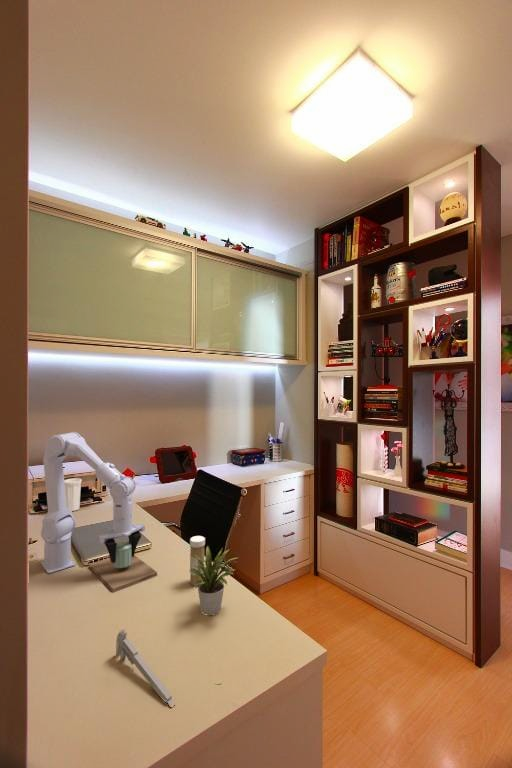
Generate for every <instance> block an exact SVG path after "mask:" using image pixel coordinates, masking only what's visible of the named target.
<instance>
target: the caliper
mask: <svg viewBox="0 0 512 768" xmlns="http://www.w3.org/2000/svg"><path fill="white" fill-rule="evenodd" d="M127 635H128V633H127V632H125V628H123V629H120V630H119V633H117V636H116V643H115V646H116V647H115V655H116V656H117V657H118V656H120V658H119V659H120V660H121V661H123V660H124V659H126V658H127V660H128V661H129V663H130V664H131V665H134V666H136V668H137V669H138V670H139V672H140V673H141V675H142V676H143V677H144V678H145V679H146V681H147V682H148V683H149V685H150V686H151V687H152V689H153V690H154V691H155V693H156V694H157V693H158V694H159V695H160V696H161V697H162V698H163V699H164V700H165V701H166V702H167V703H168V704H169V705H170V706H171V705H172V704H173V702H175V701H174V699H173V698H172V697H173V695H172V694H171V693H170V692H169V690H168V689H167V688H166V687H165V685H164V684H163V683H162V682H161V680H160V679H159V678H158V677H157V675H156V674H155V673H154V671H153V670H152V669H151V668H150V667H149V665H148V664H147V663H146V662H145V660H144V659H143V658H142V657H141V655H140V654H139V651H138V650H137V648H136V647H135V645H134V644H133V642H131V641H130V639H129V638H128V637H127ZM158 694H157V695H158ZM159 695H158V696H159ZM168 704H167V705H168Z"/></svg>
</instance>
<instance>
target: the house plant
mask: <svg viewBox="0 0 512 768" xmlns="http://www.w3.org/2000/svg"><path fill="white" fill-rule="evenodd" d="M229 551H230V548H229V549H227V550H225V551H224V552H223V548H221V549H220V550H219V552H218V553H217V555H216V557H215V558H214V560H213V559H212V552H211V549H210V546H209V545H207V546H206V549H205V558H204V559H203V560H204V564H203V562H202V561H201V558H199V557H198V556H197V555H195V554H194V555H195V557H196V558H197V560H198V562H199V563H200V564H199V563H198V562H197V563H198V564H199V565H200V566H198V567H197V566H196V565H195V564H193V563H192V564H193V565H195V567H197V568H198V569H199V567H200V568H201V570H202V571H203V573H204V575H202V574H203V573H202V571H201V570H200V569H199V570H200V571H201V573H202V574H201V573H200V572H199V571H197V570H196V569H191V570H190V569H189V573H190V572H192V573H194V574H197V575H198V576H200V577H201V579H202V580H203V581H202V580H198V581H197V586H196V588H197V593H198V598H199V604H200V605H199V606H200V611H202V612H203V613H204V614H207V615H212V616H214V615H213V614H216V613H218V612H219V611H220V612H221V609H222V608H221V607H222V602H223V596H224V589H225V585H226V586H228V582H227V579H226V578H224V577H227V576H231V575H234V573H233V572H234V571H237V569H231V568H229V567H226V566H227V565H229V564H233V563H235V561H234V560H236V559H238V557H234V558H229V559H227V560H226V561H225V562H223V561H224V560H225V557H226V554H227V553H228V552H229ZM195 562H196V561H195ZM222 562H223V563H222ZM237 562H240V561H237V560H236V563H237ZM193 568H194V567H193ZM223 572H224V573H223ZM203 576H204V577H203ZM202 612H201V613H202ZM220 612H219V613H220ZM203 613H202V614H203ZM219 613H218V614H219ZM204 614H203V615H204ZM207 615H206V616H207ZM216 615H217V614H216Z"/></svg>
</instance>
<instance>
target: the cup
mask: <svg viewBox="0 0 512 768" xmlns="http://www.w3.org/2000/svg"><path fill="white" fill-rule="evenodd" d="M82 481H83V479H82V478H79V477H77V478H76V477H75V478H68V479H64V483H65V494H66V504H67V508H69V509H70V510H72V512H74V511H78V510H80V503H81V489H82V488H81V487H82Z"/></svg>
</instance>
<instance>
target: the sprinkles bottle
mask: <svg viewBox="0 0 512 768" xmlns="http://www.w3.org/2000/svg"><path fill="white" fill-rule="evenodd" d="M205 545H206V537H204V536H202V535H195V536H192V537H190V539H189V546H190V554H189V560H190V561H189V570H191V569H196V570H197V571H199V572H200V573H201V571H202V570H201V568H200V567H199V569H200V570H201V571H200V570H199V569H198V568H197V567H198V566H200V565H199V564H200V563H199V562H198V560H197V558H196V557H195V555H197V556H198V557H199V558H201V561H202V562H203V564H204V565H205V561H204V560H205ZM194 554H195V555H194ZM203 559H204V560H203ZM195 561H196V562H195ZM197 562H198V563H199V564H198V563H197ZM192 563H193V564H195V565H196V566H197V567H195V565H193V564H192ZM193 567H194V568H193ZM189 573H190V575H189V576H190V577H189V578H190V580H189V583H190V585H192V586H194V587H195V586H197V581H198V580H202V579H201V577H200V576H198V575H197V574H194V573H192V572H190V571H189ZM202 573H203V571H202ZM202 573H201V574H202ZM202 575H204V573H203V574H202ZM203 577H204V576H203ZM202 581H203V580H202Z"/></svg>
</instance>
